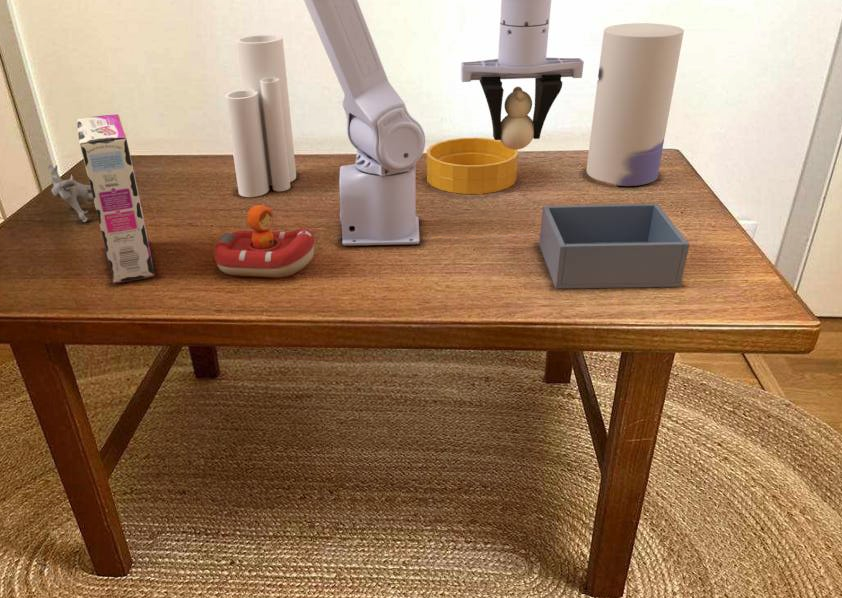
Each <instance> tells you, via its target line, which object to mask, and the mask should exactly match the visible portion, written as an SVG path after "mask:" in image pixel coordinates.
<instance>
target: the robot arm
mask: <svg viewBox="0 0 842 598" xmlns="http://www.w3.org/2000/svg"><path fill="white" fill-rule="evenodd" d="M303 2H304V4H305V7H306V9H307V11H308V13H309V15H310V18H311V20H312V22H313V25H314V27H315V29H316V32H317V34H318V37H319V39H320V41H321V43H322V46H323V48H324V50H325V52H326V55H327V58H328V60H329V62H330V64H331V67H332V69H333V71H334V74H335V75H336V78H337V80H338V83H339V85H340V88H341V90H342V92H343V95H344V96H343V100H342V108H343V110H344V112H345V115H346V134H347V138H348V141H349V142H350V144H351V145H352V146H353V148H355V149H356V156H355V163H353V164H347V165H342V166H340V167H339V203H340V209H339V211H340V212H339V222H340V225H341V235H342V241H341V244H342V246H344V247H345V246H346V247H347V246H348V247H350V246H397V245H399V246H400V245H402V246H403V245H404V246H405V245H419V244H420V222H419V221H420V219H419V216H417V213H416V211H417V208H416V207H417V205H416V204H417V203H416V201H417V200H416V199H417V197H416V194H417V192H416V187H417V186H416V185H417V184H416V183H417V182H416V180H417V179H416V178H417V177H416V172H417V171H416V164H417V163H418V162H419V160H420V159H421V158H422V155H423V153H424V151H425V147H426V135H425V131H424V128H423V126H422V125H421V124H420V123H419V121H417V120H416V119H415V118H414V117H412V116H411V115H410V113H409V111H408V108H407V105H406V104H405V102H404V100H403V99H402V98H401V96H400V94H399V93H398V92H397V91H396V90H395V88H394V87H393V85H392V84H391V83H390V81H389V79H388V76H387V73H386V71H385V69H384V66H383V63H382V61H381V58H380V55H379V52H378V51H377V48H376V45H375V43H374V40H373V38H372V35H371V31H370V29H369V26H368V24H367V22H366V19H365V17H364V13H363V11H362V9H361V7H360V3H359V1H358V0H303ZM551 8H552V0H501V1H500V21H499V34H498V35H499V37H498V53H497V54H498V55H497V58H492V59H485V60H477V61H476V60H475V61H463V62H461V63H460V80H461V83H470V82H471V81H479V83H480V86H481V88H482V91H483V93H484V96H485V99H486V102H487V106H488V111H489V114H490V119H491V126H492V137H493V139H494V140H500V139H501V121H502V108H503V99H504V88H503V82H502V80H520V79H521V80H522V79H534V108H533V116H532V121H533V123H534V126H535V131H534V137H533V140H539V139H540V138H541V134H542V130H543V127H544V124H545V122H546V119H547V116H548V115H549V112H550V109H551V108H552V106H553V104H554V102H555V101H556V98H557V97H558V95H559V94H560V93H561V90H562V88H563V81H562V78H572V79H582V78H583V72H584V63H585V62H584V60H583V59H582V58H581V57H577V58H576V57H575V58H574V57H573V58H571V57H570V58H569V57H547V52H548V41H549V30H550V20H551Z"/></svg>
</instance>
